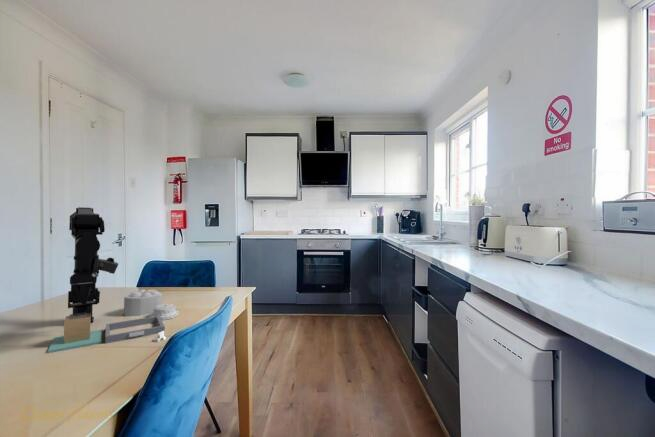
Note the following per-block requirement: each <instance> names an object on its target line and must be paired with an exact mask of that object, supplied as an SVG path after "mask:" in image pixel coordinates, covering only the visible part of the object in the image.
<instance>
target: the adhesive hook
mask: <svg viewBox="0 0 655 437" xmlns="http://www.w3.org/2000/svg"><path fill="white" fill-rule="evenodd" d="M165 340H166V336H165V331H162V332H159V333H157V334H156V337H154V339H153V342H156V343H158V342H159V343H160V342H161V341H165Z"/></svg>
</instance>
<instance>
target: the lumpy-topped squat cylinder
mask: <svg viewBox="0 0 655 437" xmlns="http://www.w3.org/2000/svg"><path fill="white" fill-rule="evenodd" d="M162 304H163V293H162V292H160V291H158V290H157V289H154V288H153V289H152V288H151V289H148V290H146V289H139V290H137V291H132V292H131V293H130V294H128V295H125V296H124V300H123V316H125V317H142V316H147V315H151V314H152V313H154V307H155V306H157V305H162ZM141 315H142V316H141Z"/></svg>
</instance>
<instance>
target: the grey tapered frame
mask: <svg viewBox="0 0 655 437" xmlns="http://www.w3.org/2000/svg"><path fill="white" fill-rule="evenodd" d="M153 323H156V324H157V326H152V327H148V328H147V327H146V328H141V329H136V330H131V331H125V332H120V333H119V332H118V333H114V334H110V333H111V332H110V331H112V330H119V329H124V328H129V327H136V326H141V325H149V324H153ZM165 328H166V327H165V324H164V322H163V320H161V318H160V316H154V317H150V316H147V317H142V318H137V319H136V318H135V319H129V320H124V321H123V320H122V321H118V322H111V323H106V324H105V339H104V340H105V344H108V343H114V342H120V341H125V340H130V339H137V338H141V337H146V336H151V335H158V333H159V332H162V331H165V330H166V329H165Z"/></svg>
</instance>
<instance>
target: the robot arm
mask: <svg viewBox="0 0 655 437" xmlns="http://www.w3.org/2000/svg"><path fill="white" fill-rule="evenodd" d="M105 228H106V227H105V220H103V217H102V216H100V214H99V213H95V212H94V208H92V207H80V206H78V207H76V208H75V212H73V213H71V214H70V215H69V231H71V233H70V234H71V236H72V238H74V256H73V261H74V269H73V274H72V275H71V276H70V277H69V284H70V290H68V291H67V292H68V293H67V294H68V295H67V309H72V314H78V313H85V312H87V314H88V313H91V322H90V324H91V323H94V319H95V316H93V309H94V308H93V307H94V306H95V305H99V304H100V297H101V296H100V295H101V291H100V290H99V289H98V287H97V286H96V283H97V281H98V276H99V274H100V271H103V272H106V273H109V274H116V273H115V272H116V270H117V268H118V266H119V262H116V261H115V257H114V258H113V257H107V258H106V259H102V258H100V255H99V254H98V251H99V250H100V248H101V243H100V241H99V238H98V236H97V235H99V236H100V235H101V236H102V235H103V233H105V231H106V230H105Z"/></svg>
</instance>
